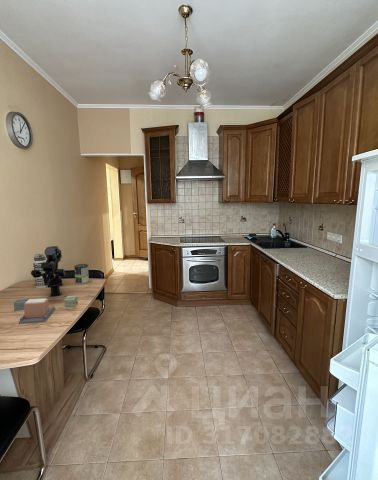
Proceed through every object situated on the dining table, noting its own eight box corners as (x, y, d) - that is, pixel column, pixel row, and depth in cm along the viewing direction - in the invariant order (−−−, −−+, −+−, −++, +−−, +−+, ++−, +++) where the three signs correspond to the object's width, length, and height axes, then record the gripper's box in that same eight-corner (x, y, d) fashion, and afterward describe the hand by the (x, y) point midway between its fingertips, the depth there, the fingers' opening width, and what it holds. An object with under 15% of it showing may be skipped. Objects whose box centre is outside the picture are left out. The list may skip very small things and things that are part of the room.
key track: (31, 311, 147) (31, 307, 147) (55, 309, 150) (55, 305, 149) (18, 323, 132) (18, 319, 131) (45, 321, 134) (45, 317, 134)
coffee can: (74, 285, 194) (73, 267, 192) (75, 281, 204) (74, 264, 202) (88, 283, 198) (88, 266, 196) (89, 279, 207) (88, 263, 205)
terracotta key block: (29, 313, 141) (28, 299, 140) (48, 312, 143) (47, 298, 142) (25, 318, 136) (23, 303, 134) (44, 316, 137) (43, 302, 136)
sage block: (67, 303, 159) (67, 296, 158) (77, 303, 160) (77, 295, 159) (64, 307, 153) (64, 299, 152) (74, 307, 154) (74, 299, 153)
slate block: (18, 306, 154) (18, 299, 153) (29, 306, 155) (29, 298, 154) (14, 310, 148) (13, 302, 147) (25, 310, 149) (24, 302, 148)
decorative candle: (51, 284, 196) (48, 253, 192) (44, 288, 187) (42, 255, 183) (39, 284, 195) (36, 253, 192) (32, 288, 186) (29, 255, 183)
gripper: (30, 257, 153) (23, 280, 144) (62, 256, 157) (58, 278, 147) (36, 266, 162) (30, 288, 153) (67, 265, 165) (63, 286, 156)
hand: (45, 285), depth 152 cm, fingers closed
